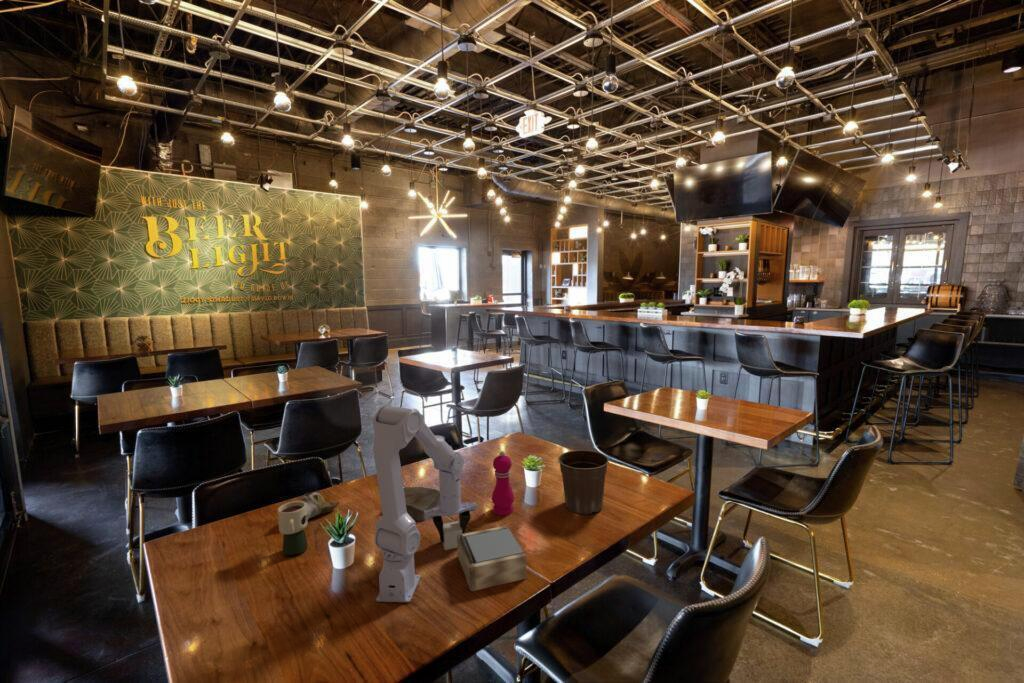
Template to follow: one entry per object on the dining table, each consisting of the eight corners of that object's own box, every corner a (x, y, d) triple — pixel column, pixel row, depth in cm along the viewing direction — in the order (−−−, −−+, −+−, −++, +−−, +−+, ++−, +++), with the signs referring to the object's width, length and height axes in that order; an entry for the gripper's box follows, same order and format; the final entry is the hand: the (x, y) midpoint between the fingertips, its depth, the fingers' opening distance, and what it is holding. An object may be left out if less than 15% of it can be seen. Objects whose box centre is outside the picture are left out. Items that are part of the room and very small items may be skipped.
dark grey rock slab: (423, 522, 139) (423, 510, 138) (381, 518, 142) (380, 505, 142) (444, 498, 155) (443, 486, 154) (405, 494, 158) (404, 483, 158)
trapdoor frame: (470, 591, 106) (470, 564, 105) (457, 556, 121) (457, 532, 120) (526, 578, 111) (525, 552, 110) (507, 545, 125) (506, 522, 124)
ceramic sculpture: (278, 497, 138) (316, 480, 152) (278, 524, 139) (316, 505, 153) (304, 503, 134) (340, 485, 148) (304, 531, 135) (341, 511, 148)
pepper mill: (489, 508, 147) (487, 449, 144) (509, 503, 149) (508, 446, 147) (496, 518, 140) (494, 456, 138) (517, 513, 143) (516, 453, 140)
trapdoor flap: (476, 566, 108) (476, 562, 108) (465, 540, 119) (465, 536, 119) (523, 555, 112) (523, 552, 111) (508, 531, 123) (508, 528, 123)
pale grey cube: (444, 550, 123) (444, 533, 123) (441, 540, 128) (441, 524, 128) (462, 546, 125) (462, 529, 124) (459, 537, 130) (458, 521, 129)
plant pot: (555, 515, 141) (554, 466, 139) (561, 492, 157) (561, 448, 155) (607, 520, 137) (608, 470, 135) (609, 497, 153) (609, 451, 151)
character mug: (308, 558, 121) (305, 513, 119) (279, 565, 118) (275, 518, 117) (310, 538, 131) (307, 496, 129) (283, 544, 128) (279, 500, 127)
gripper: (472, 483, 131) (473, 526, 132) (422, 491, 126) (424, 536, 128) (478, 493, 124) (479, 539, 126) (425, 502, 120) (427, 549, 121)
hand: (451, 538), depth 126 cm, fingers closed on pale grey cube, 5 cm apart
